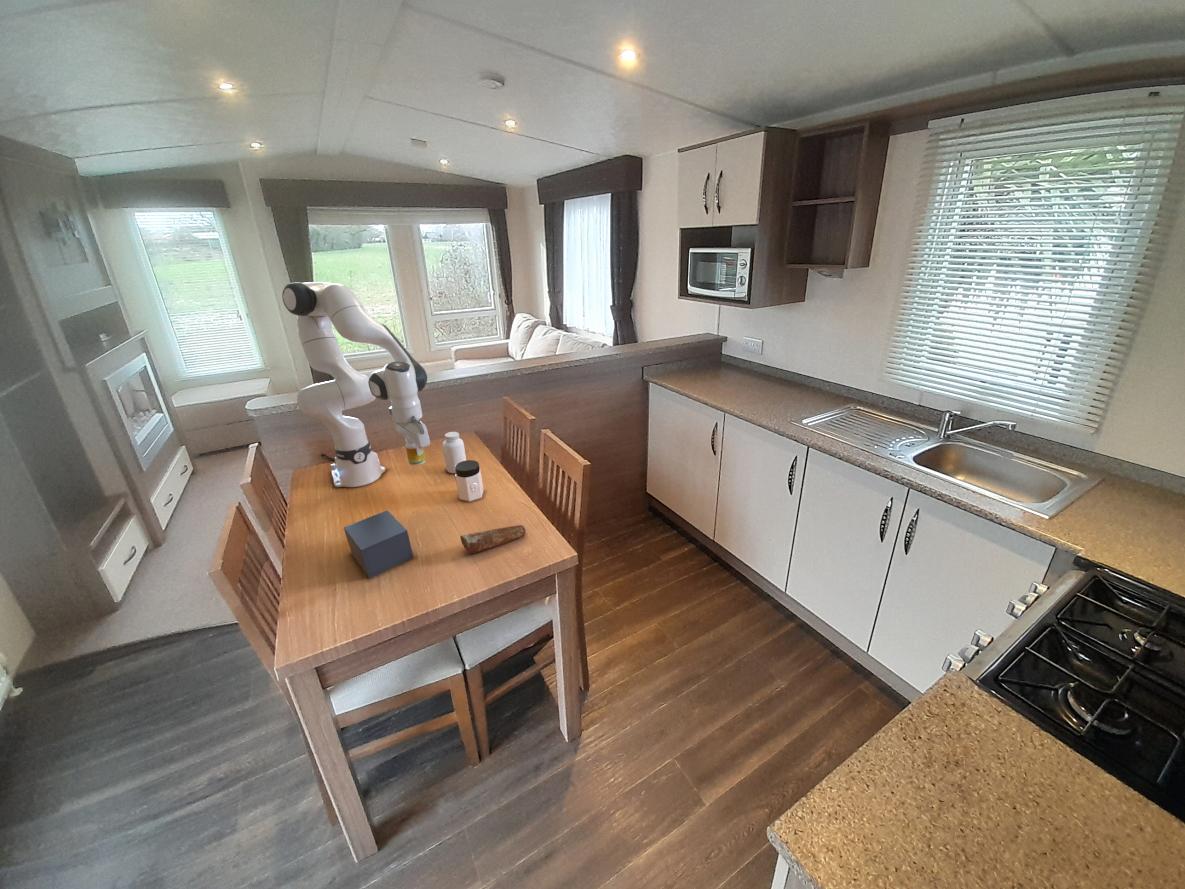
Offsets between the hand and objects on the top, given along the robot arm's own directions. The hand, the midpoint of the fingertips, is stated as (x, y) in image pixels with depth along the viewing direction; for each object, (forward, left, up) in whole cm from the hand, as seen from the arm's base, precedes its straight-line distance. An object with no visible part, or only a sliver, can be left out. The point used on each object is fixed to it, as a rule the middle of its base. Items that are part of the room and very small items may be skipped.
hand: (415, 451), depth 159 cm
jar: (+9, +13, -19) cm, 25 cm away
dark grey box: (+21, -23, -19) cm, 37 cm away
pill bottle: (-13, +19, -19) cm, 30 cm away
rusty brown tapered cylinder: (+39, +4, -19) cm, 44 cm away
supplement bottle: (0, 0, -4) cm, 4 cm away
